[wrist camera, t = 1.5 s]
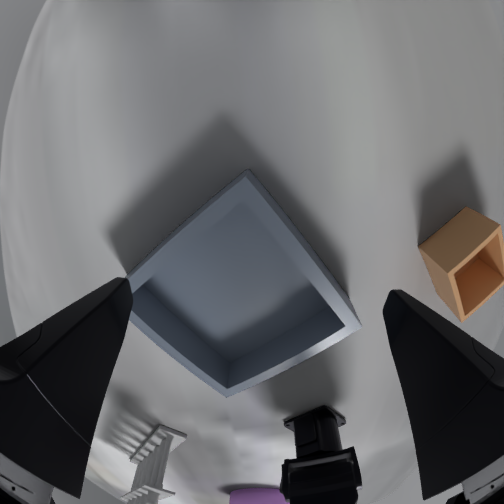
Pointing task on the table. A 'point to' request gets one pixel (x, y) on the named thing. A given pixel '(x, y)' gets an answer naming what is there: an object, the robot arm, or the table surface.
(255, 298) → the large crate
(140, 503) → the test tube rack
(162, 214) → the table surface
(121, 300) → the robot arm
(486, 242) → the small crate
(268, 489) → the container set
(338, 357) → the table surface
